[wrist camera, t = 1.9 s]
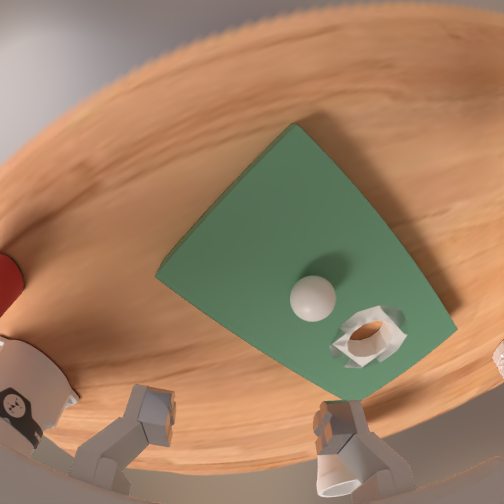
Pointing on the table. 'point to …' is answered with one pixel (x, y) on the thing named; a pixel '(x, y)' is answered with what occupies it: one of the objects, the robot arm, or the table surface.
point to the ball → (312, 298)
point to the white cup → (499, 357)
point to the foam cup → (334, 477)
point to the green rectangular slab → (308, 272)
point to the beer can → (9, 283)
